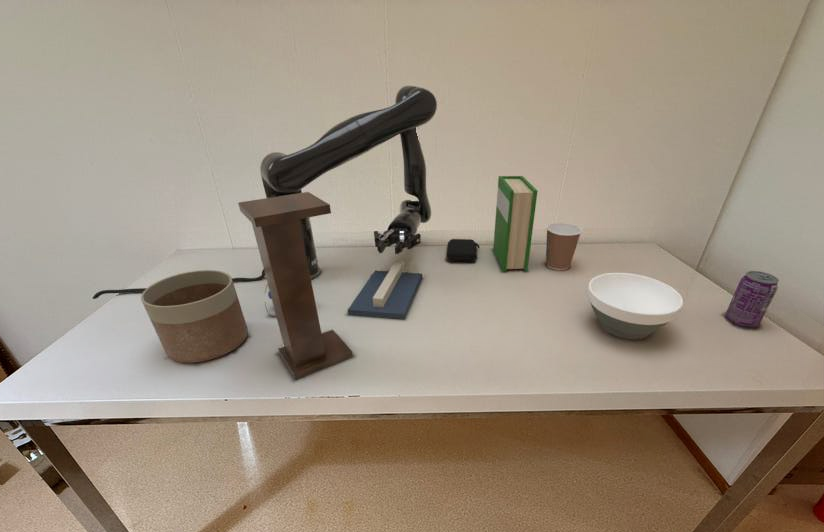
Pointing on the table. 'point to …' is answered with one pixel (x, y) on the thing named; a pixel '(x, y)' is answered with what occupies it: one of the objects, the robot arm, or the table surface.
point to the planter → (196, 315)
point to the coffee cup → (561, 244)
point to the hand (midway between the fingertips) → (388, 250)
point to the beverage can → (752, 298)
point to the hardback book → (514, 222)
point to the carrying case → (462, 250)
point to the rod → (388, 284)
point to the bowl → (632, 304)
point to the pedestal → (293, 280)
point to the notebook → (396, 301)
